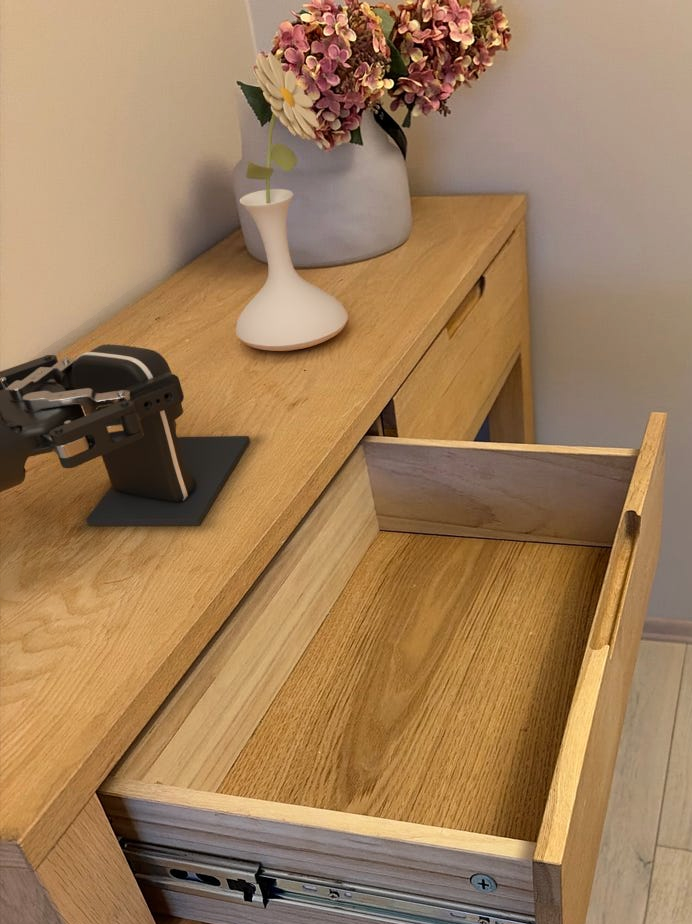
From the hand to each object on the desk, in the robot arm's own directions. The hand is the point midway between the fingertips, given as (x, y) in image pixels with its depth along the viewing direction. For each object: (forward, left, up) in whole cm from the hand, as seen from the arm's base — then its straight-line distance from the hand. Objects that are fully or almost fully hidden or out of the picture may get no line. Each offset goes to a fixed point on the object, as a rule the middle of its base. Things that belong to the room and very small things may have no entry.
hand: (152, 371), depth 73 cm
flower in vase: (+2, +29, -10) cm, 31 cm away
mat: (-1, 0, -10) cm, 10 cm away
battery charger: (-1, -2, -9) cm, 9 cm away
